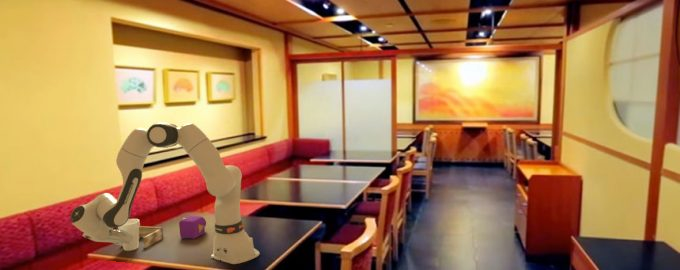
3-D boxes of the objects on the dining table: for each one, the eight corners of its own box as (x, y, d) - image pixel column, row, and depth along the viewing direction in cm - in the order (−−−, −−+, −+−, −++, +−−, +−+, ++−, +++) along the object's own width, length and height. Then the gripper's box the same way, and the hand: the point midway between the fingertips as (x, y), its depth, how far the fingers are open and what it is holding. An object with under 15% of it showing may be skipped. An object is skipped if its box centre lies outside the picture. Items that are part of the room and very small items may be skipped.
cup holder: (145, 247, 200) (144, 236, 199) (121, 246, 203) (120, 235, 203) (163, 237, 212) (162, 227, 212) (140, 236, 216) (139, 226, 215)
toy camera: (210, 230, 221) (208, 212, 220) (198, 239, 208) (197, 220, 207) (190, 230, 222) (189, 212, 221) (178, 239, 209) (176, 220, 208)
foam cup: (121, 246, 203) (118, 220, 201) (142, 243, 206) (139, 217, 205) (119, 253, 194) (116, 226, 193) (141, 249, 198) (138, 223, 196)
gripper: (124, 224, 182) (142, 238, 193) (86, 222, 188) (105, 236, 198) (117, 238, 179) (136, 251, 189) (79, 235, 184) (99, 248, 194)
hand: (120, 243), depth 194 cm, fingers closed
